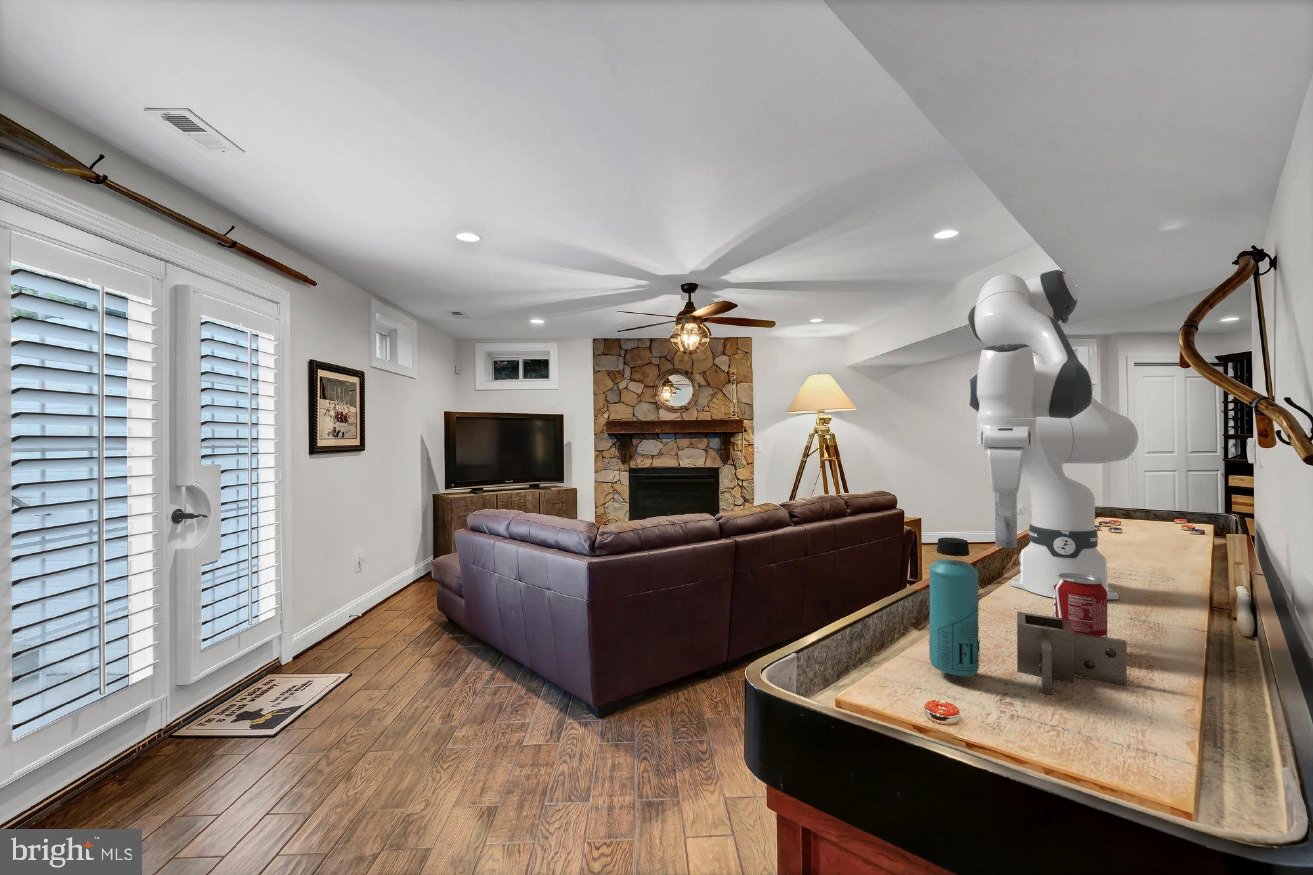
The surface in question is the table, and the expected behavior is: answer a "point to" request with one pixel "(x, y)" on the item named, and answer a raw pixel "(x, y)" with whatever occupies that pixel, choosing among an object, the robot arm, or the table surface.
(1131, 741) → the table surface
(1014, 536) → the pin
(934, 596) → the beverage bottle
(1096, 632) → the soda can
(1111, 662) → the grey metal bracket
